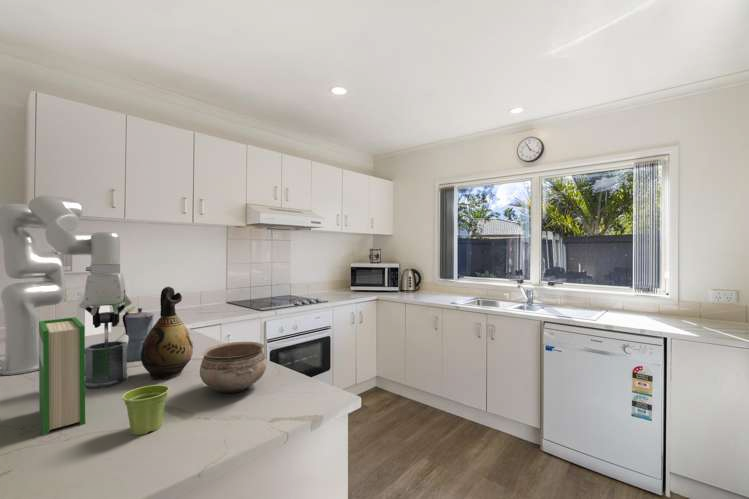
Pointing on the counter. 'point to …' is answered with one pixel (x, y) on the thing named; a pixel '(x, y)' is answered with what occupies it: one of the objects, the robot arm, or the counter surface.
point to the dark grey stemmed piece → (105, 324)
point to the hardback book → (61, 373)
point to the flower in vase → (125, 337)
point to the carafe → (105, 365)
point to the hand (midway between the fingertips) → (106, 325)
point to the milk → (91, 318)
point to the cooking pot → (233, 366)
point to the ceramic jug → (167, 341)
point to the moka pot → (137, 332)
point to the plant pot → (145, 407)
